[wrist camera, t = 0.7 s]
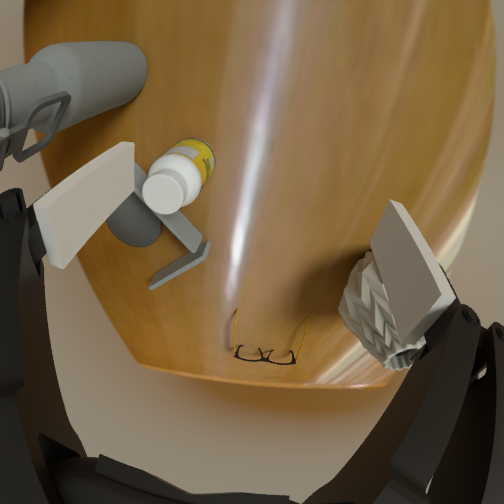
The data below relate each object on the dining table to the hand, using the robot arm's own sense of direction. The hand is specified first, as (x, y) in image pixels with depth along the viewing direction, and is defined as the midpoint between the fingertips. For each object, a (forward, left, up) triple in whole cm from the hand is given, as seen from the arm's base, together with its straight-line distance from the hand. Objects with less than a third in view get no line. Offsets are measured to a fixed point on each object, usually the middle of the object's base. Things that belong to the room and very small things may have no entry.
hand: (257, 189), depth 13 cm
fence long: (0, -20, -23) cm, 31 cm away
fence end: (+11, -27, -23) cm, 37 cm away
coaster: (0, -28, -23) cm, 37 cm away
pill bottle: (-1, -12, -23) cm, 27 cm away
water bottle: (-18, -12, -23) cm, 32 cm away
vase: (+30, +2, -23) cm, 38 cm away
